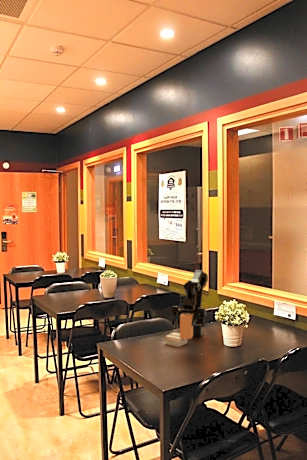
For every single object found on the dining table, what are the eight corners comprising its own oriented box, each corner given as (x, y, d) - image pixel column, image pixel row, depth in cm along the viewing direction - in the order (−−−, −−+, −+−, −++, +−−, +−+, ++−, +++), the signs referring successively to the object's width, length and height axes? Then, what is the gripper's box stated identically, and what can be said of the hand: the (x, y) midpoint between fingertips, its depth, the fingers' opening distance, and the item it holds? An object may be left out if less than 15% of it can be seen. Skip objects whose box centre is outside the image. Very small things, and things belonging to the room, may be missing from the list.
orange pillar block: (182, 334, 231) (182, 313, 230) (192, 335, 229) (193, 314, 229) (179, 337, 225) (180, 315, 224) (190, 339, 223) (191, 316, 223)
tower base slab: (174, 340, 246) (174, 336, 246) (187, 343, 241) (187, 339, 241) (165, 344, 239) (165, 340, 239) (178, 347, 233) (178, 343, 233)
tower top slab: (173, 336, 246) (173, 332, 246) (187, 339, 241) (187, 335, 241) (165, 340, 238) (165, 336, 238) (179, 343, 233) (179, 338, 233)
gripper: (171, 291, 232) (166, 316, 222) (205, 293, 227) (201, 319, 217) (175, 302, 240) (170, 326, 230) (207, 305, 235) (203, 329, 225)
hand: (186, 325), depth 226 cm, fingers closed on orange pillar block, 6 cm apart
